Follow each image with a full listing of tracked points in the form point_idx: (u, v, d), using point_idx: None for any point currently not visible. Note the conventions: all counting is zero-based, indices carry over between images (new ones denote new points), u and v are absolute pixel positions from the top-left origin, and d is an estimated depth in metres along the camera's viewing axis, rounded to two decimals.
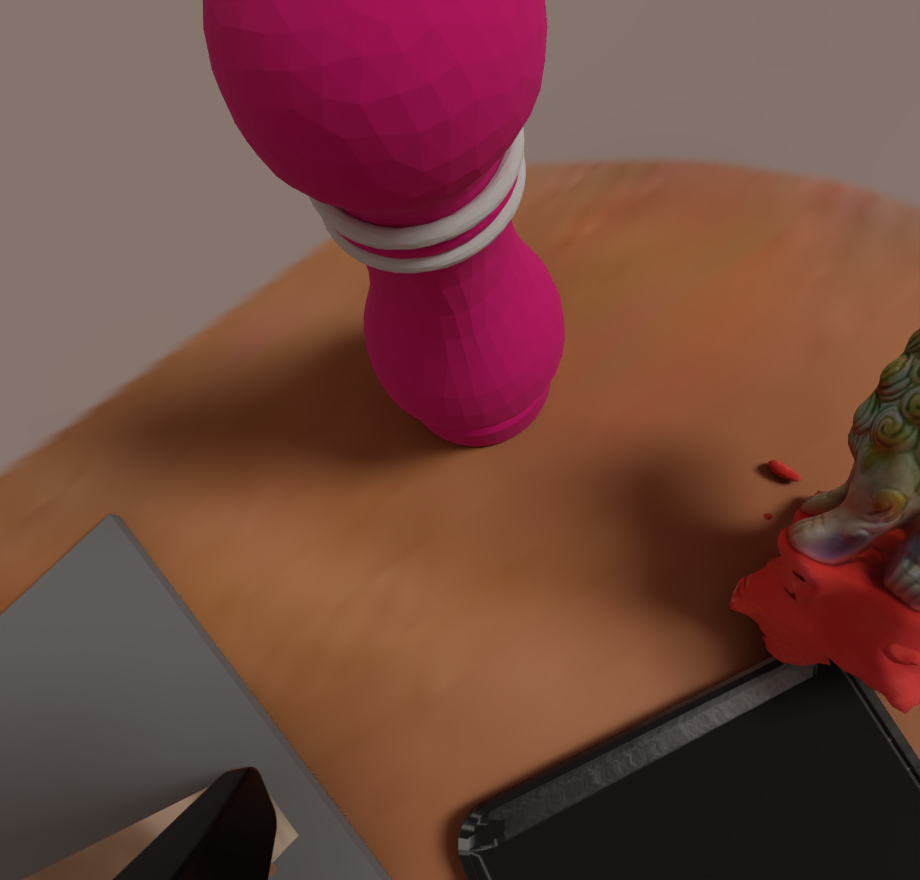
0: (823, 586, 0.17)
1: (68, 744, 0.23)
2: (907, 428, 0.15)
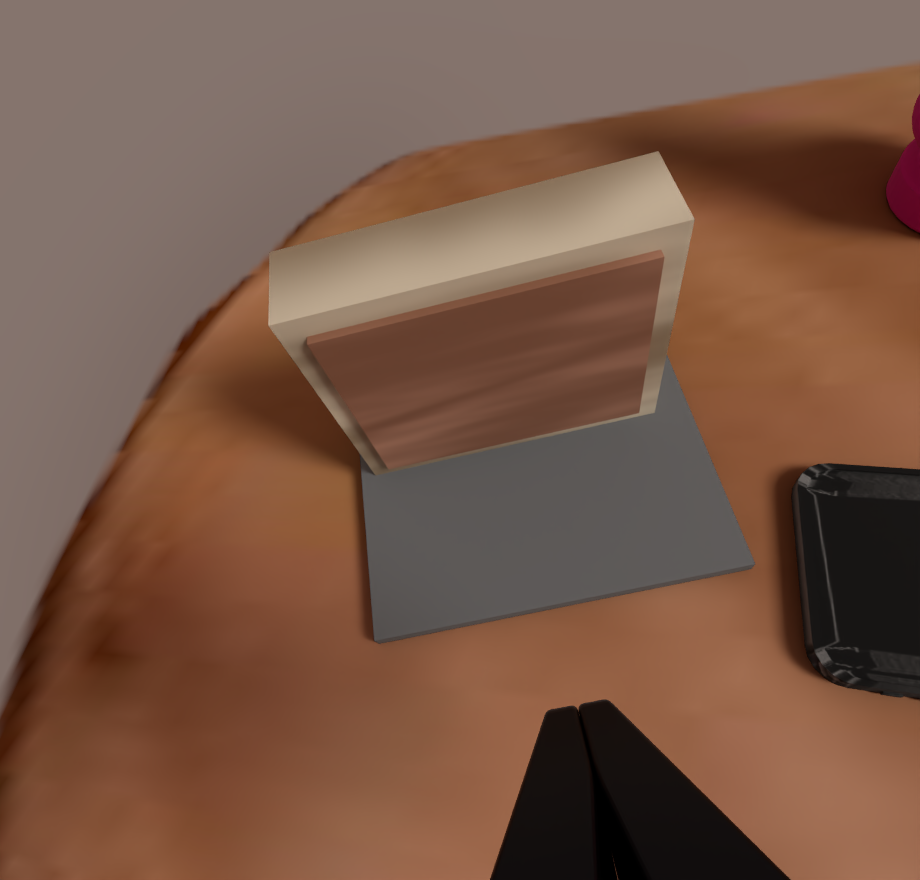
0: None
1: None
2: None
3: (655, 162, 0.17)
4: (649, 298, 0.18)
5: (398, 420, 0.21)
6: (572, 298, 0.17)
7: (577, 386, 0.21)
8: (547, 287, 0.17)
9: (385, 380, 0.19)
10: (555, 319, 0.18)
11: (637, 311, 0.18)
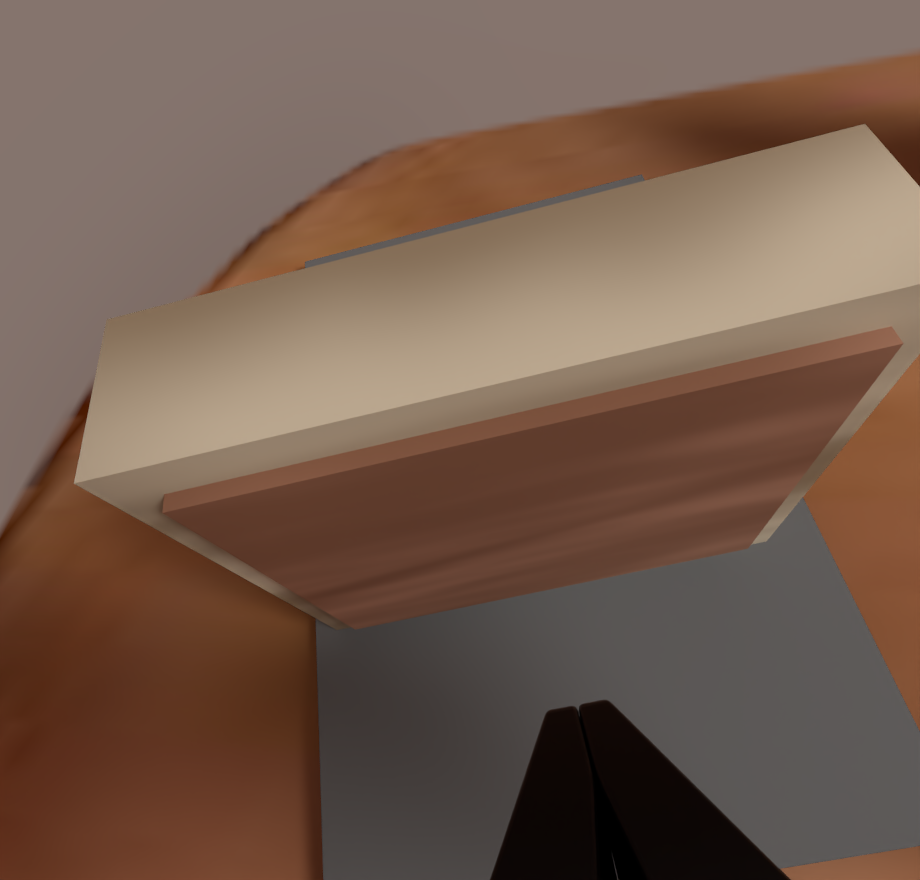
0: None
1: None
2: None
3: (864, 145, 0.08)
4: (837, 411, 0.09)
5: (363, 585, 0.13)
6: (694, 418, 0.09)
7: (663, 529, 0.13)
8: (650, 402, 0.08)
9: (332, 545, 0.11)
10: (652, 450, 0.09)
11: (807, 431, 0.10)
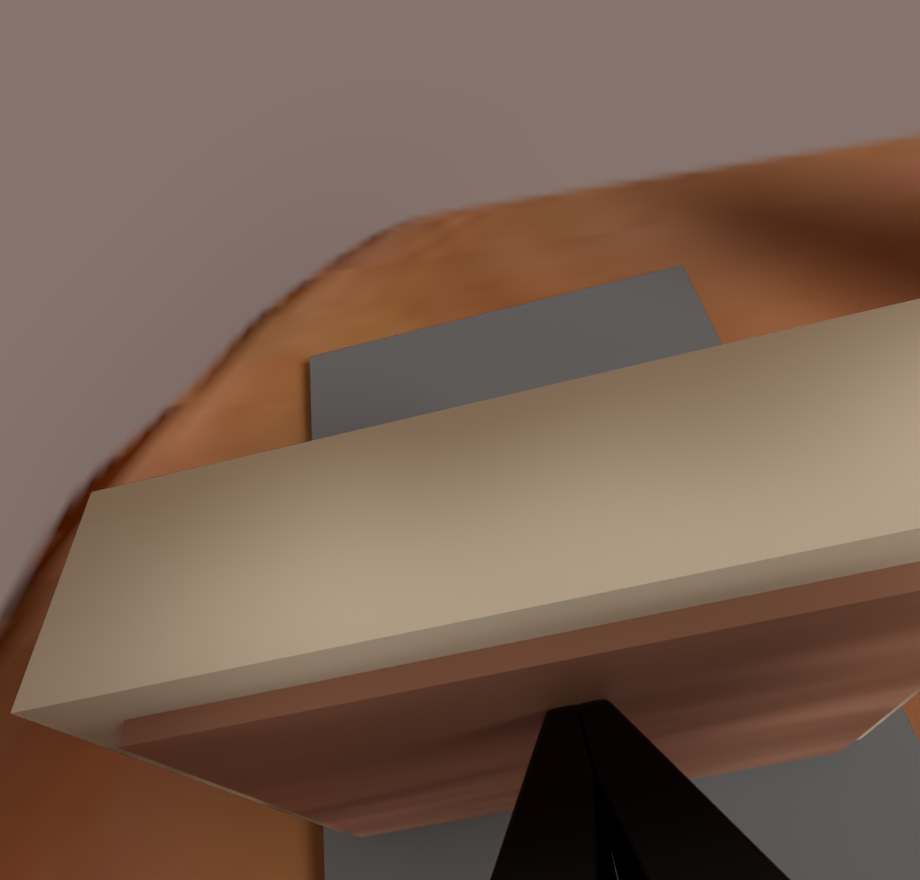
0: None
1: None
2: None
3: None
4: None
5: (371, 800, 0.10)
6: (795, 640, 0.07)
7: (741, 739, 0.10)
8: (740, 625, 0.06)
9: (332, 768, 0.08)
10: (738, 670, 0.07)
11: None
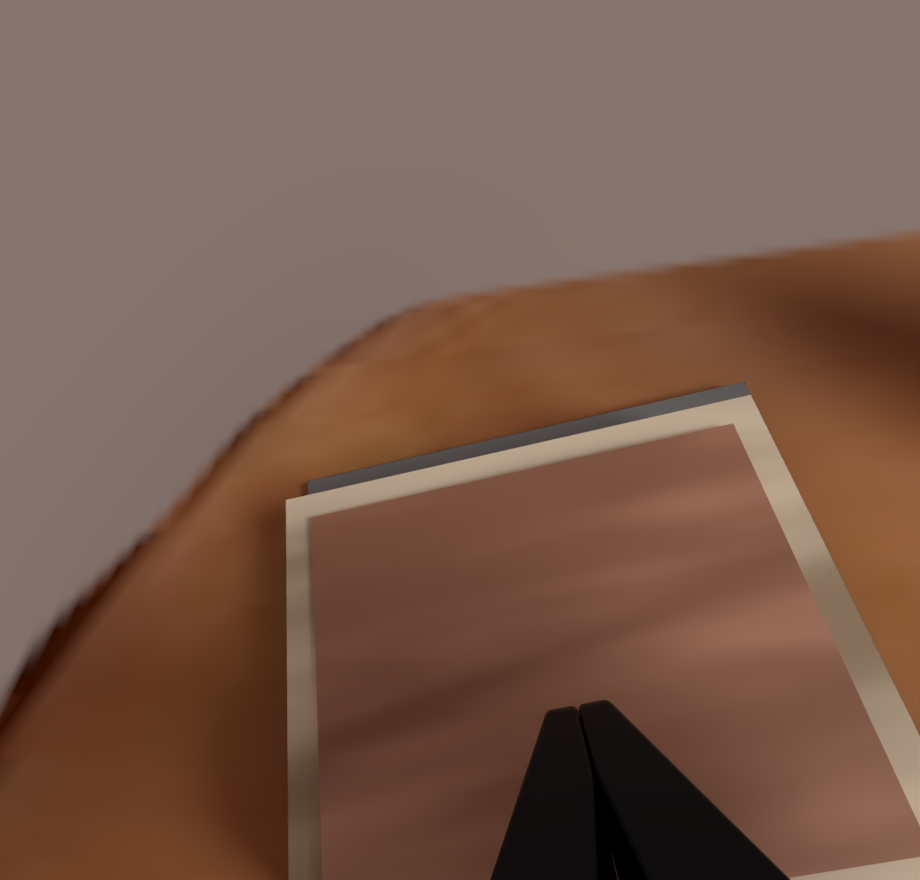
0: None
1: None
2: None
3: None
4: (749, 486, 0.13)
5: (381, 727, 0.12)
6: (633, 477, 0.14)
7: (712, 691, 0.11)
8: (595, 460, 0.14)
9: (382, 603, 0.13)
10: (619, 510, 0.13)
11: (743, 509, 0.13)
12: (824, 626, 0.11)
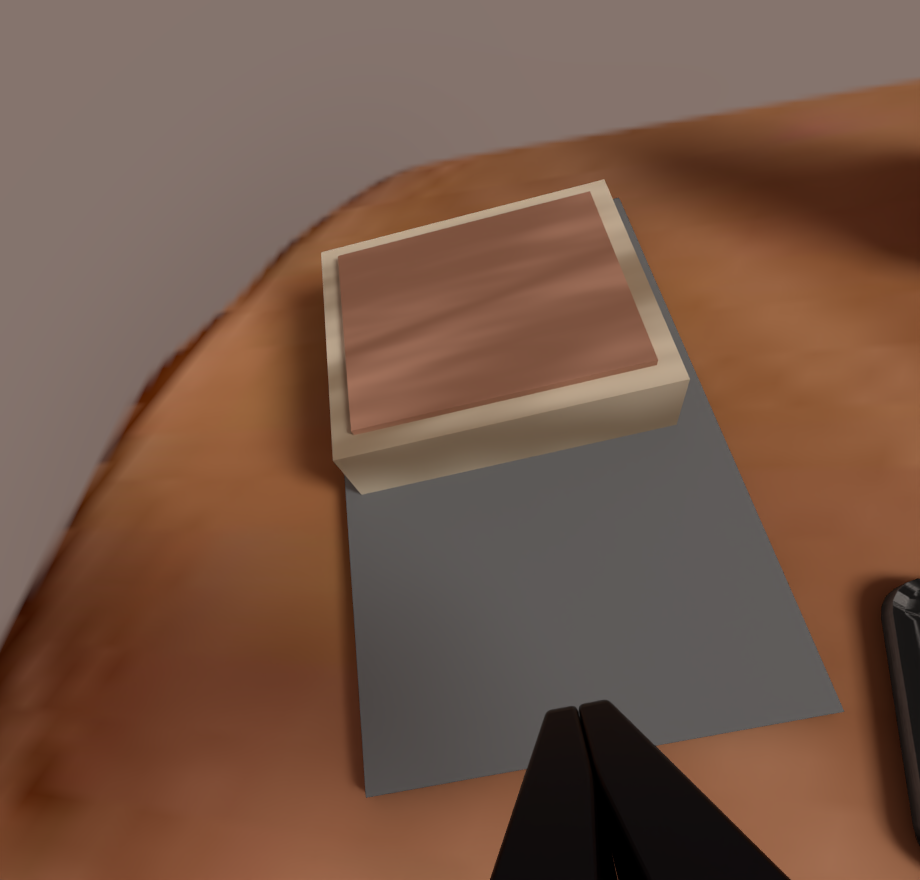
0: None
1: None
2: None
3: None
4: (594, 220, 0.22)
5: (380, 343, 0.21)
6: (529, 221, 0.23)
7: (560, 309, 0.21)
8: (508, 215, 0.23)
9: (381, 291, 0.23)
10: (520, 237, 0.23)
11: (589, 231, 0.22)
12: (623, 277, 0.21)
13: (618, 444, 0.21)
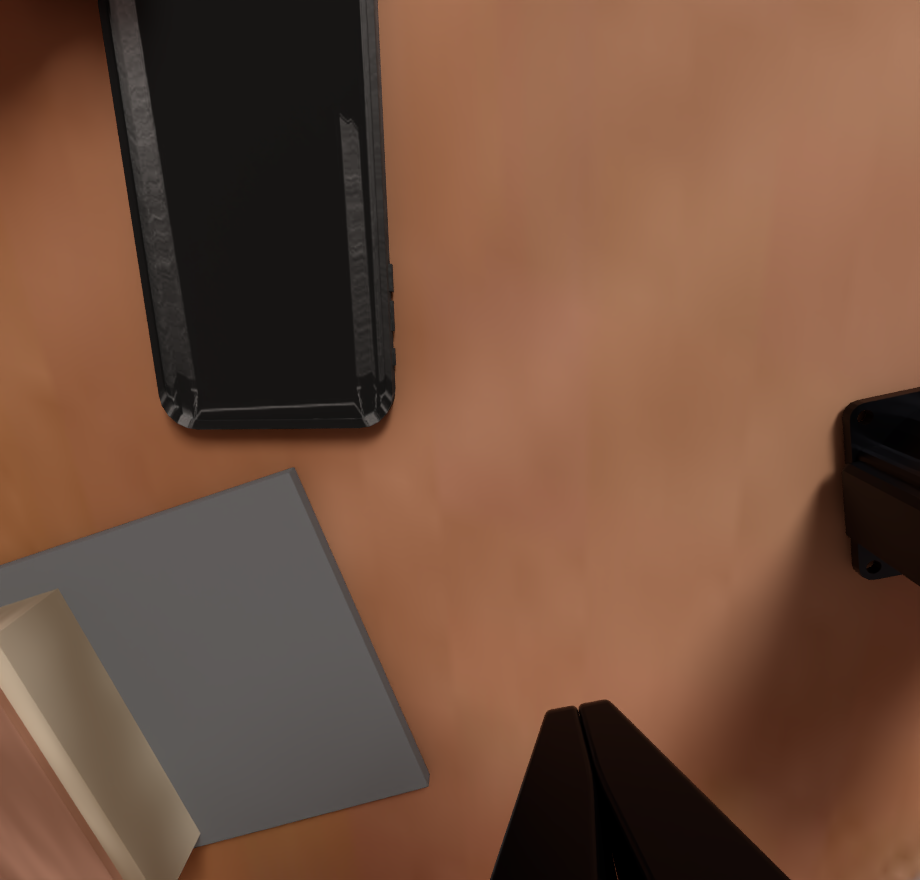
0: None
1: None
2: None
3: None
4: None
5: None
6: None
7: None
8: None
9: None
10: None
11: None
12: None
13: (93, 636, 0.22)
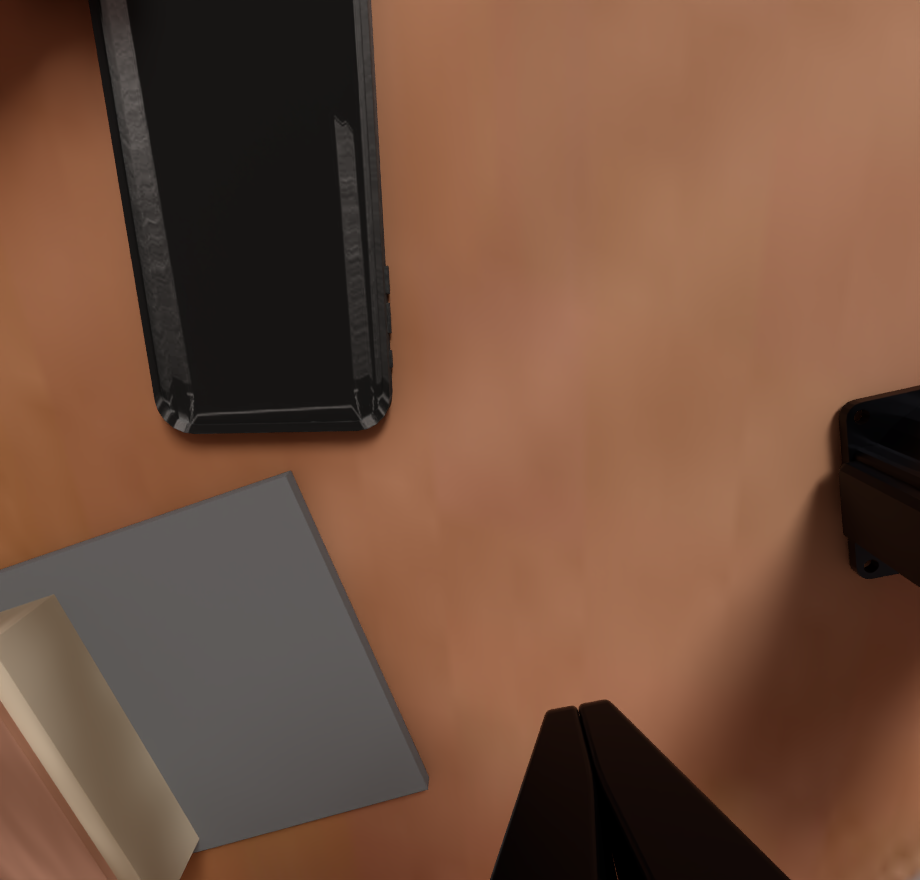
0: None
1: None
2: None
3: None
4: None
5: None
6: None
7: None
8: None
9: None
10: None
11: None
12: None
13: (90, 642, 0.22)
